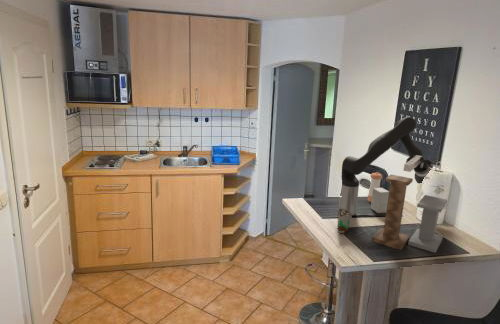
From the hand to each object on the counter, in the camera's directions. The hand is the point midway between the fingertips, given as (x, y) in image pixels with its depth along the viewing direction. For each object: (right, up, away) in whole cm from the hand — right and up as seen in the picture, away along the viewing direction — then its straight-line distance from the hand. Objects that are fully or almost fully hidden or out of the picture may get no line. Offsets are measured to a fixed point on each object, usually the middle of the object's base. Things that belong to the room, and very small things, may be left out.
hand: (417, 157), depth 174 cm
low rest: (+2, -41, -4) cm, 42 cm away
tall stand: (-15, -41, -3) cm, 44 cm away
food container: (-35, -38, +6) cm, 52 cm away
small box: (-7, -31, +33) cm, 46 cm away
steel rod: (-4, -4, -4) cm, 7 cm away
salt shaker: (-5, -27, +49) cm, 56 cm away
